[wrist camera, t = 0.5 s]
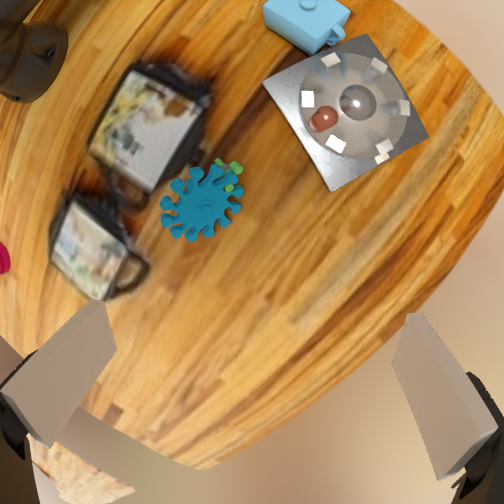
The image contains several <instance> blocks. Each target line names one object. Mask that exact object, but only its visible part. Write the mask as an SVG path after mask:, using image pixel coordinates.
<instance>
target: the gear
mask: <svg viewBox="0 0 504 504" xmlns="http://www.w3.org/2000/svg"><path fill="white" fill-rule="evenodd" d="M215 163H216V164H213V165H212V166H211V168H210V171H209V174H208V176H207V177H206V178H205V179H204V180H203V181H202V182H201V183H198V181H199V180H200V179H201V178H202V177H203V175H204V171H203V170H202V169H201V167H193V168H190V170H189V174H190V176H191V180H190V179H189V180H186V181H185V186H186V188H187V189H188V190H186V191H183V189H184V183H183V181H182V180H181V179H180V178H177V179H175V180H174V181H172V182H171V183H170V186H171V188H172V190H173V191H174V192H176V193H178V194H179V196H180V200H179V202H177V203H173V202H172V200H171V199H170V197H169V196H164V197H163V198H162V200H161V201H160V203H159V204H160V206H161V208H162V209H163V210H174V211H177V212H178V214H177V215H175V216H171V215H169V214H167V213H164V214H162V215H161V223H162V225H163V227H169V226H170V225H172V224H175V223H183V224H182V225H175V226H172V227H171V228H170V232H171V234H172V236H173V237H174V238H175V239H177V238H179V237H180V236H181V234H182V233H183V232H184V231H186V230H187V229H190V228H192V227H194V228H192V229H190V230H188V231H187V232H186V233H185V237H186V239H187V240H188V241H193V242H194V241H195V240H196V239H197V235H198V233H199V231H200V230H201V229H202V228H203V227H204V226H206V225H207V226H206V227H205V228H204V229H203V231H202V233H203V234H204V236H205V237H212V236H214V234H215V232H214V230H213V226H214V223H215V221H216V220H217V219H218V218H219V220H218V223H219V224H220V226H221V227H222V228H225V227H226V226H228V225H229V224H231V222H230V220H229V219H228V217H227V216H225V215H224V210H225V209H226V208H227V207H229V209H230V210H231V211H232V213H234V214H236V213H238V211H239V210H240V209H241V205H240V204H239V203H238V202H237V201H229V200H227V198H228V197H229V196H230V195H234V196H235V197H237V198H241V197H242V196H243V193H244V188H243V187H242V186H241V185H236V186H233V185H232V184H236V183H237V182H238V177H237V175H238V174H241V173H242V172H243V167H242V166H241V165H240V164H239V163H238V162H237V161H232V162H231V163H230V164H224V163H223V162H222V161H221V159H220V158H216V159H215ZM236 174H237V175H236Z"/></svg>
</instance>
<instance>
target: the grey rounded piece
mask: <svg viewBox="0 0 504 504" xmlns="http://www.w3.org/2000/svg"><path fill="white" fill-rule="evenodd" d="M387 67H388V66H387V65H386V64H384V63H383V62H381V61H380V60H378V59H377V58H375V57H374V58H373V59H370V58H368V57H365V56H362V55H358V54H352V53H341V54H335V52H334V53H332V54H330V55H327V56H325V57H323V58H321V59H320V61H319V62H317V63H316V64H315V65H314V66H313V67H312V68H311V69H310V70H309V72H308V73H307V75H306V77H305V79H304V81H303V83H302V87H301V90H300V96H299V105H300V112H301V115H302V118H303V121H304V123H305V125H306V127H307V129H308V130H309V132H310V133H311V135H312V136H313V137H314V138H315V139H316V140H317V141H318V142H319V143H320V144H321V145H322V146H324V147H325V148H327V149H328V150H330V151H332V152H334V153H336V154H338V155H341V156H345V157H350V158H371V157H375V156H378V155H383V154H385V153H386V152H388V151H390V150H392V149H394V148H393V146H394V145H395V144H396V143H397V142H398V140H399V139H400V137H401V136H402V133H403V131H404V129H405V125H406V120H407V117H409V116H410V105H409V101H406V100H405V97H404V94H403V92H402V89H401V87H400V86H399V84H398V82H397V81H396V79H395V78H394V77H393V76H392V74H391V73H390V72H389V71H388V70H387Z"/></svg>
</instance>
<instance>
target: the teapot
mask: <svg viewBox="0 0 504 504" xmlns="http://www.w3.org/2000/svg"><path fill="white" fill-rule="evenodd" d="M263 12H264V19H265V26H267V27H268V28H270V29H271V30H273V31H274V32H276V33H278V34H279V35H281V36H282V37H284V38H285V39H287V40H288V41H290V42H291V43H292V44H294V45H295V46H297V47H298V48H300V49H301V50H302V51H304V52H305V53H306V54H308V55H309V56H313V55H315V54H317V53H318V52H319V51H320V50H321V49H322V48H323V47H324V46H325V45H326V44H328V45H330V46H334V45H336V44H337V41H341V40H343V39H344V38H345V36H346V34H345V31H344V30H343V27H344V25H345V23H346V21H347V19H348V17H349V15H350V12H351V11H350V10H349V9H347V8H346V7H344V6H343V5H342V4H340V3H339V2H337V1H336V0H268V2H266V3H265V4H264V5H263Z"/></svg>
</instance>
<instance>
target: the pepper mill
mask: <svg viewBox="0 0 504 504" xmlns="http://www.w3.org/2000/svg"><path fill="white" fill-rule="evenodd" d="M9 268H10V258H9V255H8V252H7V250H6V248H5V247H4V246H3V245H2V244H1V243H0V274H3V273H5V272H7V271H8V270H9Z"/></svg>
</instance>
